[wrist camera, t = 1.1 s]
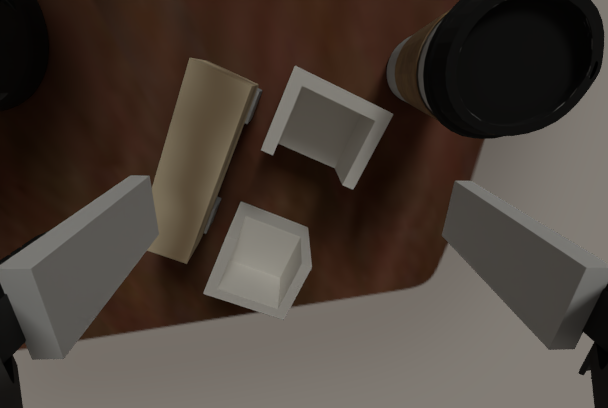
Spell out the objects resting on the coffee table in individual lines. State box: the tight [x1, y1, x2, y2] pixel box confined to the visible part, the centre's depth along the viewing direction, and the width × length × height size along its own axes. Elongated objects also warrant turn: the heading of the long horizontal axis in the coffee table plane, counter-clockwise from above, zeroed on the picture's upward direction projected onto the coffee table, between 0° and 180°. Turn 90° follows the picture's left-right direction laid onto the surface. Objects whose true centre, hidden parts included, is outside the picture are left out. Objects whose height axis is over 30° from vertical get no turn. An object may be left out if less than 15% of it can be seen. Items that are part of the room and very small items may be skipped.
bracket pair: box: [203, 66, 393, 320], centre depth 30 cm, size 8×21×8 cm, turn 156°
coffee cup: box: [387, 0, 604, 139], centre depth 23 cm, size 8×8×15 cm
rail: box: [147, 58, 259, 264], centre depth 27 cm, size 4×16×5 cm, turn 156°
